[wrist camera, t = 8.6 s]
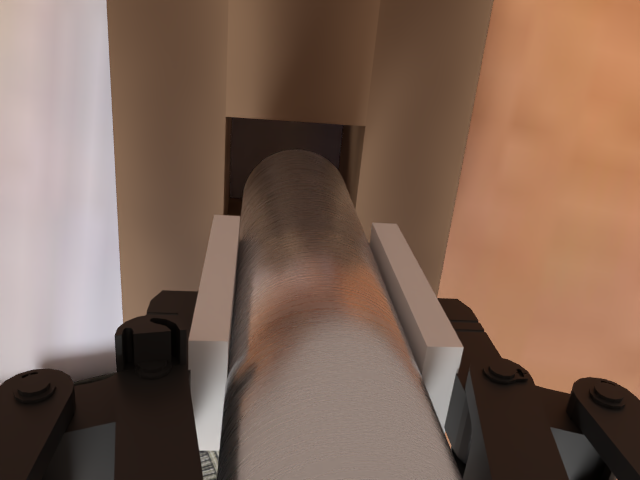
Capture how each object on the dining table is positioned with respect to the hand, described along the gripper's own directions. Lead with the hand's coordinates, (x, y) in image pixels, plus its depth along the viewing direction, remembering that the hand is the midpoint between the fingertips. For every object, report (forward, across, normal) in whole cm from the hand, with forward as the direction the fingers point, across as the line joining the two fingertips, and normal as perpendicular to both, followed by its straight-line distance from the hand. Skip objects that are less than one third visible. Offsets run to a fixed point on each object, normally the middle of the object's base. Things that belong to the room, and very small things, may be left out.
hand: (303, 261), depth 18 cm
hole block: (+13, 0, 0) cm, 13 cm away
